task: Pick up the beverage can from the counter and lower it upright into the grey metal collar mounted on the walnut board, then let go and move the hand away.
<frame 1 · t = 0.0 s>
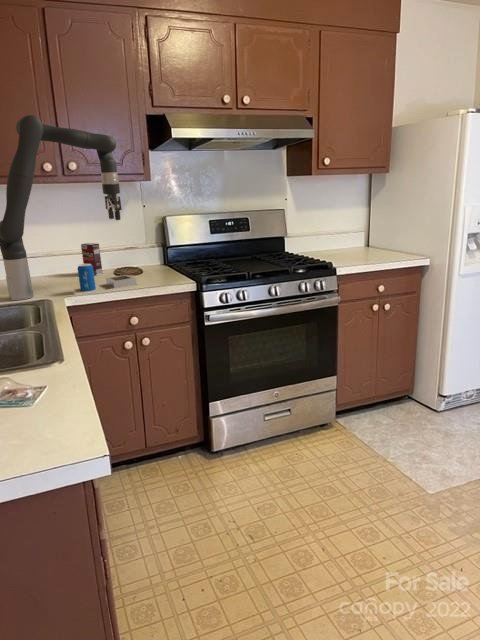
hand: (114, 219, 221), 29 cm above the worktop, tool pointing down, fingers open, 8 cm apart
supplement box: (93, 274, 250), on the worktop
beverage can: (88, 291, 213), on the worktop
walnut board: (118, 286, 219), on the worktop
metal collar: (121, 284, 220), resting on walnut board
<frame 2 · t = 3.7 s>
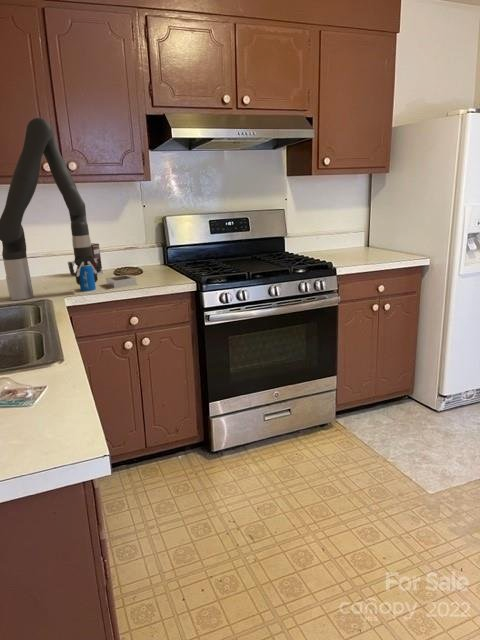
hand: (87, 283, 212), 4 cm above the worktop, tool pointing down, fingers closed on beverage can, 6 cm apart
beverage can: (88, 291, 213), on the worktop, touching gripper
everything else where it was.
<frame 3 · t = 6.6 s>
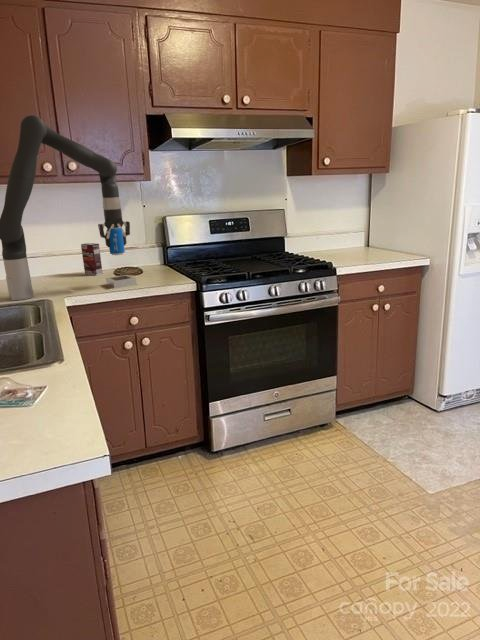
hand: (116, 246, 214), 18 cm above the worktop, tool pointing down, fingers closed on beverage can, 6 cm apart
beverage can: (117, 254, 216), point 15 cm above the worktop, touching gripper
everything else where it was.
when the fingers open (6 cm above the worktop, at t = 9.7 s): beverage can drops 1 cm, resting on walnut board.
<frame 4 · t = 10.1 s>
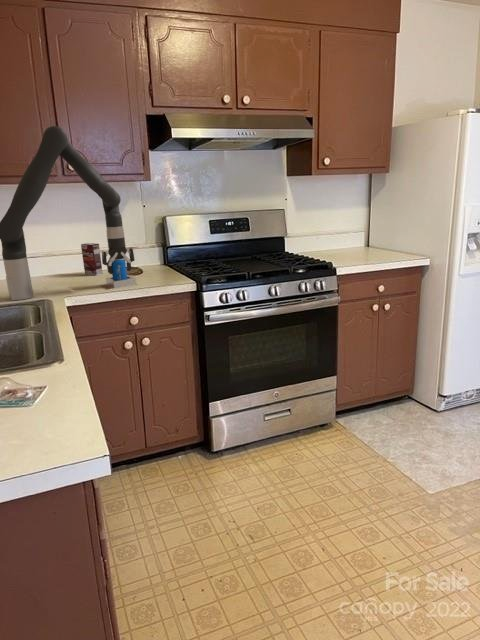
hand: (120, 272, 218), 6 cm above the worktop, tool pointing down, fingers open, 8 cm apart
beverage can: (120, 284, 220), point 1 cm above the worktop, touching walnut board
everything else where it was.
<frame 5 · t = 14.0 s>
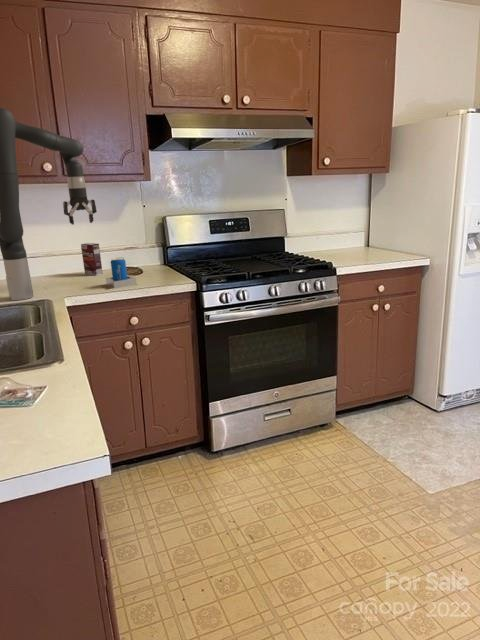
hand: (82, 223, 221), 28 cm above the worktop, tool pointing down, fingers open, 8 cm apart
nothing on the worktop moved.
at the end: beverage can 0.3 cm off-centre on the metal collar, point 0.0 cm above the metal collar's base; beverage can tilted 0°; the gripper is holding nothing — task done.
